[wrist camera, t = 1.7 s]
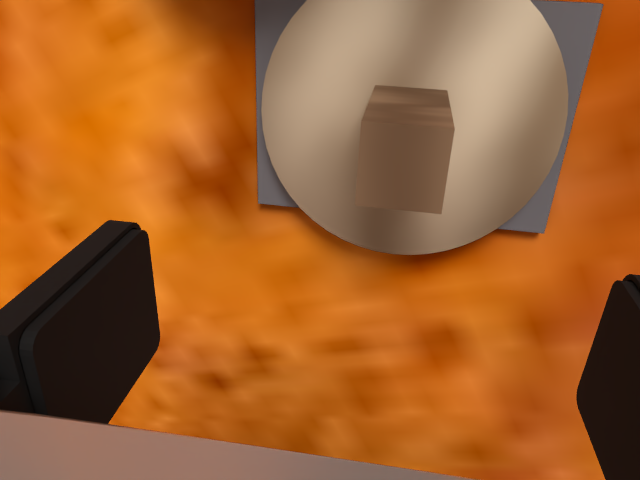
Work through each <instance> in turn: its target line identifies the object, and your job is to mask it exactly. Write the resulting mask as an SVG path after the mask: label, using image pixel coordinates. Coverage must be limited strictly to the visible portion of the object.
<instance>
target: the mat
mask: <svg viewBox="0 0 640 480" xmlns="http://www.w3.org/2000/svg"><path fill="white" fill-rule="evenodd" d="M306 1H307V0H255V42H256V102H257V162H258V203H260V204H269V205H279V206H288V207H298V208H300V207H299V206H298V205H297V204H296V202H295V201H294V200H293V199H292V198H291V196H290V195H289V194H288V192H287V191H286V189H285V187H284V186H283V184H282V183H281V181H280V179H279V177H278V175H277V173H276V171H275V169H274V167H273V165H272V162H271V159H270V156H269V153H268V151H267V148H266V143H265V138H264V133H263V126H262V112H261V108H262V91H263V86H264V80H265V75H266V71H267V67H268V64H269V61H270V58H271V55H272V52H273V50H274V48H275V46H276V44H277V42H278V40H279V37H280V35H281V34H282V32H283V31H284V29H285V28H286V26H287V24H288V23H289V21H290V20H291V18H292V17H293V16H294V14H295V13H296V12H297V11H298V10H299V9H300V7H301V6H302V5H303V4H304V3H305V2H306ZM530 1H531V2H532V3H533V4H534V6H535V7H536V8H537V9H538V10H539V11H540V13H541V14H542V16H543V17H544V19H545V20H546V22H547V24H548V25H549V27H550V29H551V30H552V32H553V34H554V37H555V39H556V41H557V44H558V46H559V49H560V51H561V54H562V58H563V62H564V66H565V70H566V75H567V85H568V115H567V121H566V126H565V132H564V136H563V140H562V143H561V146H560V149H559V152H558V155H557V157H556V159H555V161H554V163H553V165H552V167H551V170H550V172H549V174H548V175H547V177H546V178H545V180H544V181H543V183H542V184H541V186H540V188H539V189H538V190H537V192H536V193H535V194H534V195H533V196H532V198H531V199H530V200H529V201H528V202H527V204H526V205H525V206H524V207H523V208H522V209H520V210H519V211H518V212H517V213H516V214H515V215H514V216H513V217H512V218H511V219H509V220H508V221H507V222H505V223H504V224H502V225H501V226H500V227H498V228H497V229H506V230H516V231H525V232H535V233H544V231H545V228H546V224H547V220H548V216H549V212H550V208H551V204H552V200H553V197H554V193H555V189H556V185H557V181H558V177H559V173H560V170H561V166H562V162H563V158H564V154H565V150H566V146H567V143H568V139H569V135H570V131H571V127H572V123H573V119H574V116H575V112H576V108H577V104H578V100H579V96H580V92H581V89H582V85H583V81H584V77H585V73H586V69H587V65H588V62H589V58H590V54H591V50H592V46H593V42H594V38H595V35H596V31H597V27H598V23H599V19H600V15H601V11H602V7H603V4H600V3H585V2H565V1H545V0H530Z"/></svg>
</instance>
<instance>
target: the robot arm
mask: <svg viewBox="0 0 640 480" xmlns="http://www.w3.org/2000/svg"><path fill="white" fill-rule="evenodd" d="M159 341H160V330H159V321H158V313H157V305H156V296H155V288H154V279H153V271H152V262H151V254H150V246H149V238H148V234H147V232H146V231H145V230H141V228H140V226H139V225H138V224H137V223H133V222H123V221H114V220H109V221H107V222H105V223H104V224H103V225H102V226H101V227H99V228H98V229H97V230H96V231H94V232H93V233H92V234H91V235H90V236H88V237H87V238H86V239H85V240H84V241H82V242H81V243H80V244H79V245H78V246H76V247H75V248H74V249H73V250H72V251H70V252H69V253H68V254H67V255H65V256H64V257H63V258H62V259H61V260H59V261H58V262H57V263H56V264H55V265H53V266H52V267H51V268H50V269H49V270H47V271H46V272H45V273H44V274H43V275H41V276H40V277H39V278H38V279H37V280H35V281H34V282H33V283H32V284H30V285H29V286H28V287H27V288H26V289H24V290H23V291H22V292H21V293H20V294H18V295H17V296H16V297H15V298H14V299H12V300H11V301H10V302H9V303H8V304H6V305H5V306H4V307H3V308H1V309H0V480H479V479H472V478H465V477H459V476H452V475H445V474H439V473H432V472H425V471H419V470H412V469H405V468H399V467H392V466H385V465H379V464H372V463H365V462H359V461H352V460H345V459H339V458H332V457H325V456H319V455H312V454H305V453H299V452H292V451H286V450H279V449H272V448H266V447H259V446H252V445H246V444H239V443H233V442H226V441H219V440H213V439H206V438H199V437H193V436H186V435H179V434H172V433H166V432H159V431H152V430H145V429H138V428H131V427H124V426H117V425H110V424H108V423H109V421H110V420H111V418H112V417H113V415H114V414H115V412H116V411H117V409H118V408H119V406H120V405H121V403H122V402H123V400H124V399H125V397H126V396H127V394H128V393H129V391H130V390H131V388H132V387H133V385H134V384H135V382H136V381H137V379H138V378H139V376H140V375H141V373H142V372H143V370H144V369H145V367H146V366H147V364H148V363H149V361H150V360H151V358H152V357H153V355H154V354H155V352H156V351H157V348H158V346H159ZM577 405H578V409H579V411H580V414H581V417H582V419H583V422H584V424H585V427H586V430H587V432H588V435H589V437H590V440H591V443H592V445H593V448H594V450H595V453H596V456H597V458H598V461H599V464H600V466H601V469H602V471H603V474H604V477H605V479H606V480H640V275H632V274H629V275H627V276H626V277H625V278H624V279H623V281H618V280H617V281H615V282H614V284H613V286H612V288H611V291H610V294H609V297H608V300H607V302H606V305H605V308H604V311H603V314H602V317H601V320H600V323H599V326H598V329H597V332H596V335H595V338H594V341H593V344H592V347H591V350H590V353H589V356H588V359H587V362H586V365H585V368H584V371H583V374H582V377H581V380H580V382H579V385H578V389H577Z"/></svg>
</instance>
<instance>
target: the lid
mask: <svg viewBox="0 0 640 480" xmlns="http://www.w3.org/2000/svg"><path fill="white" fill-rule="evenodd" d="M261 112H262V126H263V133H264V138H265V143H266V148H267V151H268V153H269V156H270V159H271V162H272V165H273V167H274V169H275V171H276V173H277V175H278V177H279V179H280V181H281V183H282V184H283V186H284V187H285V189H286V191H287V192H288V194H289V195H290V196H291V198H292V199H293V200H294V201H295V202H296V204H297V205H298V206H299V207H300V208H301V209H302V210H303V211H304V212H305V213H306V214H307V215H308V216H309V217H310V218H311V219H312V220H313V221H315V222H316V223H317V224H319V225H320V226H321V227H323V228H324V229H325V230H327V231H328V232H330V233H332V234H334V235H336V236H337V237H339V238H341V239H343V240H345V241H347V242H350V243H352V244H354V245H357V246H360V247H363V248H366V249H370V250H373V251H378V252H384V253H390V254H402V255H417V254H430V253H436V252H441V251H446V250H450V249H453V248H457V247H460V246H463V245H465V244H468V243H470V242H473V241H475V240H477V239H480V238H481V237H483V236H485V235H487V234H489V233H490V232H492V231H494V230H496V229H497V228H498V227H500V226H501V225H502V224H504V223H505V222H507V221H508V220H509V219H511V218H512V217H513V216H514V215H515V214H516V213H517V212H518V211H519V210H520V209H522V208H523V207H524V206H525V205H526V204H527V202H528V201H529V200H530V199H531V198H532V196H533V195H534V194H535V193H536V192H537V190H538V189H539V188H540V186H541V184H542V183H543V181H544V180H545V178H546V177H547V175H548V174H549V172H550V170H551V167H552V165H553V163H554V161H555V159H556V157H557V155H558V152H559V149H560V146H561V143H562V140H563V136H564V132H565V126H566V121H567V115H568V85H567V75H566V70H565V66H564V62H563V58H562V54H561V51H560V49H559V46H558V44H557V41H556V39H555V37H554V34H553V32H552V30H551V29H550V27H549V25H548V24H547V22H546V20H545V19H544V17H543V16H542V14H541V13H540V11H539V10H538V9H537V8H536V7H535V6H534V4H533V3H532V2H531V1H530V0H307V1H306V2H305V3H304V4H303V5H302V6H301V7H300V9H299V10H298V11H297V12H296V13H295V14H294V16H293V17H292V18H291V20H290V21H289V23H288V24H287V26H286V28H285V29H284V31H283V32H282V34H281V35H280V37H279V40H278V42H277V44H276V46H275V48H274V50H273V52H272V55H271V58H270V61H269V64H268V67H267V71H266V75H265V80H264V86H263V91H262V108H261Z"/></svg>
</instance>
